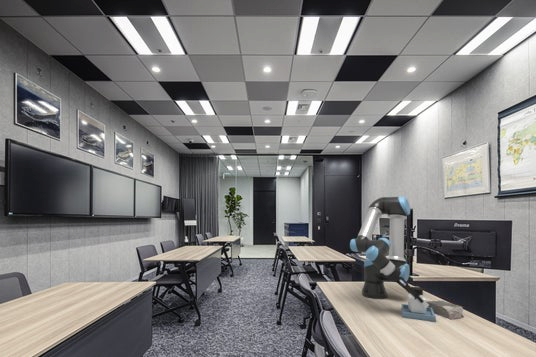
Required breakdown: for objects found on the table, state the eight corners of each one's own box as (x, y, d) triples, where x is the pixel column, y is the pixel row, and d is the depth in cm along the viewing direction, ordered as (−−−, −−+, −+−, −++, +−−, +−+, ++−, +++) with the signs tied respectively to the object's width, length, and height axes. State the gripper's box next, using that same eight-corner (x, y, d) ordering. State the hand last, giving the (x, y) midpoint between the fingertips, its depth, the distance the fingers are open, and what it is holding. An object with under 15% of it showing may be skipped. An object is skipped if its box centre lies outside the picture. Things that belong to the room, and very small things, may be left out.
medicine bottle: (427, 313, 145) (425, 289, 147) (411, 312, 147) (410, 288, 148) (422, 309, 152) (421, 286, 154) (408, 308, 154) (407, 285, 155)
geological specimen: (439, 299, 161) (465, 306, 147) (440, 311, 160) (466, 318, 146) (425, 300, 158) (450, 307, 144) (426, 312, 156) (451, 320, 142)
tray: (401, 308, 159) (401, 303, 159) (432, 312, 153) (432, 307, 153) (402, 317, 145) (401, 312, 146) (435, 322, 139) (435, 316, 140)
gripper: (381, 272, 164) (412, 303, 159) (390, 280, 144) (426, 316, 140) (390, 263, 164) (422, 294, 159) (401, 269, 144) (437, 305, 139)
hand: (424, 304), depth 149 cm, fingers closed on medicine bottle, 7 cm apart
